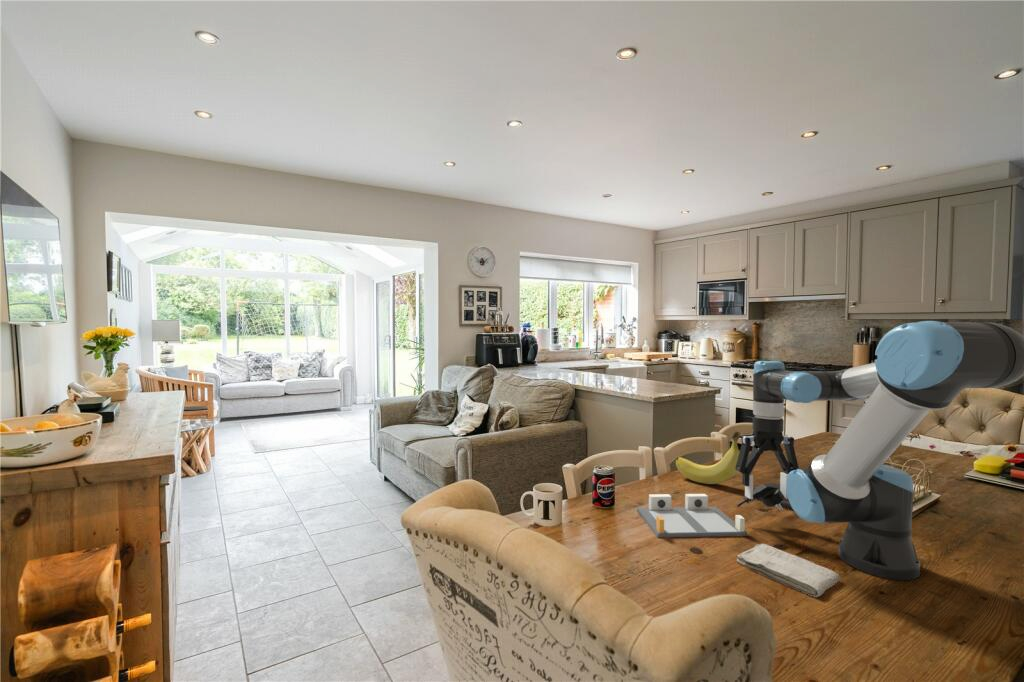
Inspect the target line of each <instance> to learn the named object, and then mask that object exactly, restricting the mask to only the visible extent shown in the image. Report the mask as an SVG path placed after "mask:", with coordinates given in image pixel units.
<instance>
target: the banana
mask: <svg viewBox="0 0 1024 682" xmlns="http://www.w3.org/2000/svg"><path fill="white" fill-rule="evenodd" d="M740 436H741V431H737V430H736V431H734V432H733V434H731V436H730V437H731V439H732V443H731V445H730V446H731V447H730V448H729V449H728V450H727V452H726V453H725V454H724V456H723V457H722V458H721V460H719V461H717V462H716V463H715V464H712V465H705V464H704V465H703V464H702V465H701V464H698V463H696V462H693V461H691V460H688V459H686V458H683V457H680V456H678V457H676V458H675V460H674V461H675V466H676V468H677V470H678V471H679V473H680V474H681V475H682V476H684V477H685V478H687V479H688V480H690V481H693V482H696V483H700V484H704V485H717V484H721V483H724V482H726V481H727V480H730V479H731V478H733V477H735V476H736V475H737V473H739V471H737V470H736V469H735V467H736V464H737V460H738V456H739V453H740V449H739V446H738V440H739V439H740Z"/></svg>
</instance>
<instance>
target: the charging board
mask: <svg viewBox="0 0 1024 682" xmlns="http://www.w3.org/2000/svg"><path fill="white" fill-rule="evenodd" d="M636 512H637V513H638V515H640V517H641V518H642V520H643V521H644V522H645V523H646V524H647V526H648V527H649V528H650V530H651V531H652V532H653V534H654V535H655V537H656V538H685V537H686V538H687V537H688V538H693V537H694V538H698V537H699V538H700V537H701V538H702V537H703V538H704V537H747V536H748V531H746V529H745V521H746V519H745V518H744V517H743V516H742V515H741V514H735V516H734V517H735V521H734V520H733V519H732V518H730V516H728V515H727V514H725V513H724V511H722V510H721V509H719V508H718V507H717V506H709V495H707V494H706V493H685V497H684V506H681V507H680V506H679V507H678V506H676V507H675V506H674V507H672V495H670V494H668V493H666V494H664V493H663V494H661V493H659V494H658V493H655V494H653V493H652V494H651V493H650V494H648V507H636Z"/></svg>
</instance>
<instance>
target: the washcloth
mask: <svg viewBox="0 0 1024 682" xmlns="http://www.w3.org/2000/svg"><path fill="white" fill-rule="evenodd" d="M736 562H737V563H738V564H739V565H742V566H743V567H745V568H747V569H749V570H751V571H753V572H755V573H756V574H757V573H758V574H759V575H762V576H764V577H766V578H769V579H770V580H773V581H776V582H777V583H780V584H782V585H784V586H787V587H790V588H791V589H793V590H796V591H798V592H800V591H801V592H800V593H802V594H805V595H807V594H808V595H807V596H809V595H810V596H809V597H812V596H813V597H812V598H819V597H820V596H822V595H823V594H824V593H825V592H826V590H828V589H830V588H829V587H831V588H833V585H834V586H835V585H836V584H837V583H839V581H840V575H839V573H837V572H836V571H833V570H832V569H830V568H827V567H824V566H822V565H818V564H817V563H815V562H812V561H811V560H810V561H809V560H808V559H805V558H802V557H800V556H797V555H794V554H792V553H789V552H786V551H784V550H781V549H779V548H776V547H774V546H771V545H769V544H766V543H760V544H758V543H757V544H755V546H753V547H752V548H750V549H748V550H745V551H743V552H740V554H737V559H736ZM835 583H836V584H835Z"/></svg>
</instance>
